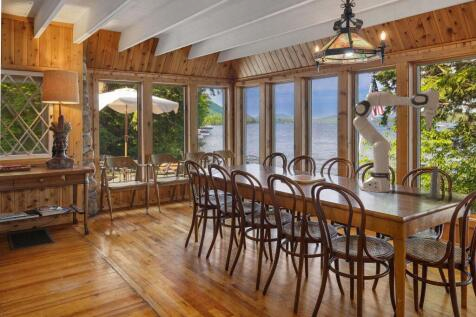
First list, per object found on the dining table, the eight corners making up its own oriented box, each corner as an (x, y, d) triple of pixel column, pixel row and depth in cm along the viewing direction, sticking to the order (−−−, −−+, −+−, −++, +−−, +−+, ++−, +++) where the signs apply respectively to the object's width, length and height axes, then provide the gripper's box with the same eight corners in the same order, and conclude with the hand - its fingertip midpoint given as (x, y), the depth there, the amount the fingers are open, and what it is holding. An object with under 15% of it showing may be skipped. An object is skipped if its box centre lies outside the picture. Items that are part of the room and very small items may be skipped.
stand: (426, 198, 263) (427, 166, 260) (427, 195, 272) (429, 165, 270) (441, 199, 258) (442, 167, 256) (442, 196, 267) (443, 165, 265)
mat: (419, 195, 274) (419, 194, 274) (420, 193, 281) (420, 192, 281) (431, 196, 270) (431, 195, 270) (432, 194, 277) (432, 193, 277)
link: (429, 193, 267) (430, 173, 265) (430, 191, 271) (431, 172, 270) (439, 193, 264) (440, 173, 262) (439, 192, 268) (440, 172, 267)
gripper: (425, 113, 284) (423, 131, 285) (425, 110, 266) (422, 129, 267) (435, 113, 281) (432, 132, 282) (435, 110, 263) (432, 130, 264)
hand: (427, 131), depth 274 cm, fingers open, 8 cm apart
